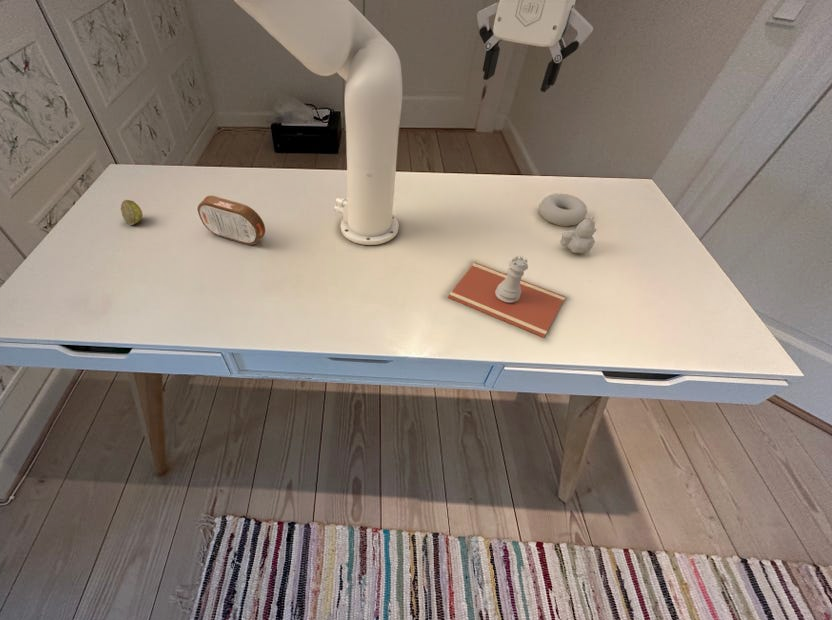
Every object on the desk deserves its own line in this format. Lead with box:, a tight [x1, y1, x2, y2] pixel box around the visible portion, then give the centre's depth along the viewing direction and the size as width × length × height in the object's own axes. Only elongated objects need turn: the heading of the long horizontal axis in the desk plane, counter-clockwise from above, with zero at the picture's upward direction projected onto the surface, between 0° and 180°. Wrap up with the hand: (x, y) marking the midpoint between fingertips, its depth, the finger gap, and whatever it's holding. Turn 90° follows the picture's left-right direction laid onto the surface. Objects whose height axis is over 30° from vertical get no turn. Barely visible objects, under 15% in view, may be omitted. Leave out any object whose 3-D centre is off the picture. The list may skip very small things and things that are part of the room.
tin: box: [197, 195, 266, 246], centre depth 87 cm, size 15×3×8 cm, turn 65°
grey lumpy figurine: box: [559, 216, 597, 254], centre depth 84 cm, size 5×7×8 cm
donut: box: [538, 193, 588, 227], centre depth 93 cm, size 10×4×10 cm
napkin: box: [447, 262, 566, 339], centre depth 78 cm, size 18×12×1 cm, turn 56°
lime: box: [120, 199, 144, 226], centre depth 92 cm, size 4×5×5 cm
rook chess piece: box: [495, 255, 529, 303], centre depth 74 cm, size 4×4×8 cm
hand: (516, 83), depth 69 cm, fingers open, 9 cm apart
